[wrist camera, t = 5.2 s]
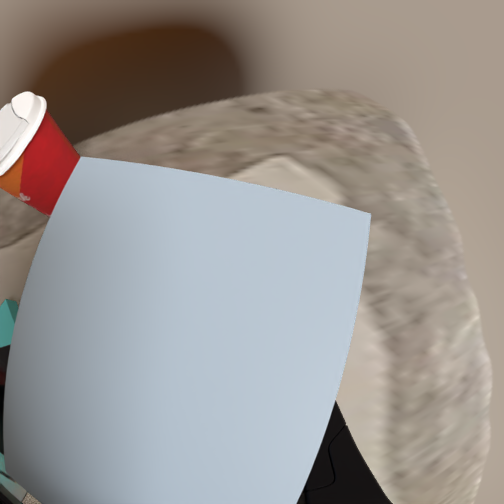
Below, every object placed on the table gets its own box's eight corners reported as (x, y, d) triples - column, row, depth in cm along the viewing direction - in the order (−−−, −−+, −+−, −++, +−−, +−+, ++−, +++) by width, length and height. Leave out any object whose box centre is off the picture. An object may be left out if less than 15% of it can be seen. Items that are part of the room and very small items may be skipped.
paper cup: (52, 201, 26) (-26, 134, 12) (103, 161, 27) (37, 73, 13) (67, 255, 24) (-35, 196, 10) (125, 212, 25) (39, 118, 11)
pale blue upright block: (256, 416, 13) (247, 589, 2) (178, 393, 14) (5, 471, 2) (285, 314, 15) (371, 214, 3) (207, 293, 16) (81, 156, 4)
